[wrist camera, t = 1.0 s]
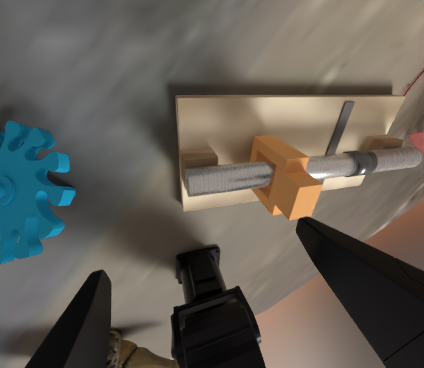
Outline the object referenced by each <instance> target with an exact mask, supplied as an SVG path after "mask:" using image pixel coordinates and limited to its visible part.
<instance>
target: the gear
mask: <svg viewBox="0 0 424 368" xmlns="http://www.w3.org/2000/svg"><path fill="white" fill-rule="evenodd" d="M25 140H26V142H25V143H24V144H23V145H22V146H21V144H22V143H23V142H24V141H25ZM54 144H55V140H54V138H53V136H52V135H51V134H50V132H49V131H46V130H43V129H40V128H37V127H36V128H34V129H31V128H30V127H28V126H26V125H22V124H19V123H16V122H13V121H8V122H7V124H6V126H5V132H2V131H0V264H3V263H6V262H10V261H13V260H14V259H15V258H18V259H21V258H26V257H30V256H34V255H37V254H41V253H42V251H43V246H42V243H41V241H40V239H39V237H40V238H41V239H45V238H50V237H54V236H57V235H58V234H59V233H60V232H61V231H62V230H63V229H64V228H65V225H64V222H63V221H62V220H61V219H59V218H58V217H56V216H55V215H54V214H53V212H52V211H51V209H50V206H49V203H48V199H49V202H50V203H51V204H52V205H54V206H68V205H70V203H71V201H72V199H73V197H75V195H76V189H75V188H74V187H65V186H56V185H54V184H53V183H51V182H50V181H49V180H48V178H47V172H48V170H49V171H54V172H61V173H66V172H68V171H69V169H70V161H69V156H68V155H67V154H62V153H58V152H51V153H49V154H48V155H47V156H46V157H45V158H43V159H41V160H37V153H38V151H39V150H41V149H50V148H52V147H53V146H54ZM19 236H20V240H19V242H18V243H17V241H18V238H19Z"/></svg>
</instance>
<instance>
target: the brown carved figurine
mask: <svg viewBox="0 0 424 368" xmlns="http://www.w3.org/2000/svg"><path fill="white" fill-rule="evenodd" d="M106 368H179V366H178V363H177V361H176V360H170V359H166V358H163V357H160V356H158V355H155V354H154V353H152V352H151V351H149V350H148V349H147V348H144V347H137V345H136V344H135V343H133V342H131V341H128V340H123V339H121V334H120V333H117V331H115V330H111V331H110V337H109V345H108V353H107V361H106Z"/></svg>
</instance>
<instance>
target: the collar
mask: <svg viewBox="0 0 424 368" xmlns="http://www.w3.org/2000/svg"><path fill="white" fill-rule="evenodd" d="M267 160H270V161H272V162H273V163H274V164H275V165H276V171H275V175H274V179H273V183H272V186H268V187H261V188H253V189H251V190H252V191H253V192H254V193H255V195H256V196H257V197H258V198H259V200H260V201H261V202H262V203H263V205H264V206H265V207H266V208H267V210H268V211H269V212H270V213H271V214H272V215H278V214H284V215H285V216H286V218H287V219H288V220H294V219H299V218H301V217H305V216H308V217H310V216H311V215H312V212H313V210H314V207H315V204H316V202H317V199H318V197H319V194H320V192H321V189H322V187H323V183H321V182H320V181H318V180H317V179H315V178H314V177H313V176H311V175H310V174H308V173H307V172H306V171H305V170H306V167H307V164H308V161H309V157H308V156H307V155H305V154H303V153H302V152H300V151H298V150H297V149H295V148H293V147H292V146H290V145H288V144H287V143H285V142H283V141H282V140H280V139H278V138H277V137H275V136H273V135H262V136H254V139H253V146H252V152H251V159H250V162H257V161H267Z"/></svg>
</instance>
